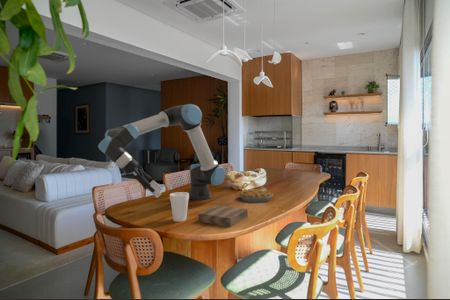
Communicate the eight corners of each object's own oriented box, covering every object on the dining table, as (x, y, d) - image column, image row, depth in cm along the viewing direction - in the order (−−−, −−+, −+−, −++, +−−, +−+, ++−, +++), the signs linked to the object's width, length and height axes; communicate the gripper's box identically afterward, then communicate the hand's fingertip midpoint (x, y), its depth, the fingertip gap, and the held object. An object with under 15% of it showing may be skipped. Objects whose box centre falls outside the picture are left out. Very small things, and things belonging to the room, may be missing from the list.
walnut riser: (198, 221, 142) (198, 213, 142) (217, 212, 157) (217, 205, 157) (230, 226, 133) (230, 218, 133) (247, 216, 148) (247, 209, 148)
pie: (278, 201, 182) (278, 193, 182) (246, 204, 176) (246, 196, 176) (264, 194, 203) (264, 187, 203) (234, 197, 197) (234, 189, 197)
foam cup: (173, 223, 139) (172, 196, 138) (167, 218, 147) (167, 193, 146) (192, 220, 143) (191, 194, 142) (185, 216, 151) (185, 191, 151)
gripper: (125, 166, 151) (156, 193, 154) (116, 172, 126) (152, 204, 130) (136, 155, 152) (166, 183, 155) (129, 160, 127) (164, 192, 130)
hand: (160, 193), depth 142 cm, fingers open, 13 cm apart
